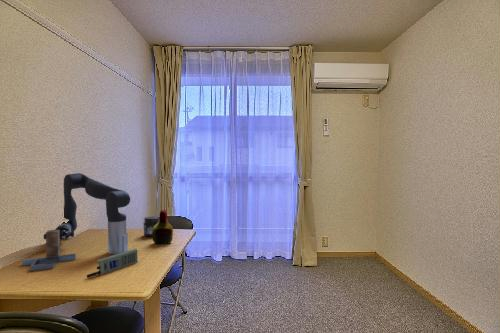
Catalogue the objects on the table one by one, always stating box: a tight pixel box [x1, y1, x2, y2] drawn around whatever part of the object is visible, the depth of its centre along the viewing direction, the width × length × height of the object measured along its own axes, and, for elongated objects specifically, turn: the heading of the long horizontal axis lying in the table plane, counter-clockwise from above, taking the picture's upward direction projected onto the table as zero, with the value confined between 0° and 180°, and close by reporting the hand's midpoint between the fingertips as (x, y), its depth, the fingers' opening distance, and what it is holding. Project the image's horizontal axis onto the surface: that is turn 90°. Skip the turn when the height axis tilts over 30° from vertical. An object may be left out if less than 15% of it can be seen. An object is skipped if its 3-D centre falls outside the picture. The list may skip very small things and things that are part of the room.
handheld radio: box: [86, 248, 139, 279], centre depth 139 cm, size 7×3×25 cm
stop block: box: [45, 229, 61, 257], centre depth 155 cm, size 5×5×14 cm
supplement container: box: [143, 215, 159, 238], centre depth 200 cm, size 10×10×12 cm
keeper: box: [21, 253, 77, 272], centre depth 144 cm, size 22×12×2 cm, turn 113°
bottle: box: [151, 209, 174, 245], centre depth 182 cm, size 12×6×20 cm, turn 98°
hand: (57, 237), depth 164 cm, fingers open, 8 cm apart
